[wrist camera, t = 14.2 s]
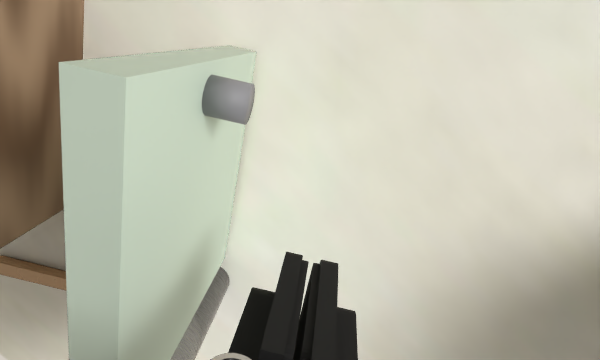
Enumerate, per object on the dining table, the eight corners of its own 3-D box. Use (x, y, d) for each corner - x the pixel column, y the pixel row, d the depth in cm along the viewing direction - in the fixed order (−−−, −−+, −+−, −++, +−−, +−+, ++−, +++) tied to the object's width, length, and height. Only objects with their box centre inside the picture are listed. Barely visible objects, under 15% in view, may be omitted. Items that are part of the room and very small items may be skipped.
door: (246, 262, 20) (156, 474, 10) (202, 252, 20) (72, 453, 10) (284, 57, 16) (194, 93, 6) (229, 45, 16) (58, 62, 6)
